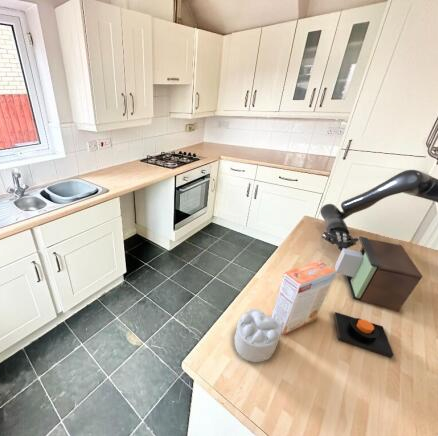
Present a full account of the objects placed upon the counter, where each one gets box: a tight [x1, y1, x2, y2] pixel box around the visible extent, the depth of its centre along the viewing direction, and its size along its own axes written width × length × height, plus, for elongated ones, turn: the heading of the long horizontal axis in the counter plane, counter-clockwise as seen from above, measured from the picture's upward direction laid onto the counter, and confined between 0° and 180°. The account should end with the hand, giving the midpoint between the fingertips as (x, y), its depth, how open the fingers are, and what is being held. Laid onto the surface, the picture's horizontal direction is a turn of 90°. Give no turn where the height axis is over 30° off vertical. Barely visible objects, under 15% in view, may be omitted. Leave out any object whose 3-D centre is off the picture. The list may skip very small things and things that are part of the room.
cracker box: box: [270, 260, 337, 335], centre depth 73 cm, size 14×6×21 cm, turn 111°
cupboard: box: [345, 236, 423, 312], centre depth 86 cm, size 12×18×16 cm
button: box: [356, 318, 374, 334], centre depth 71 cm, size 4×4×2 cm
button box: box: [333, 311, 394, 359], centre depth 72 cm, size 12×10×4 cm
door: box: [334, 248, 377, 298], centre depth 87 cm, size 7×12×14 cm, turn 153°
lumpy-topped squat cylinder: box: [234, 308, 283, 363], centre depth 69 cm, size 10×13×9 cm
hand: (343, 248), depth 97 cm, fingers closed
